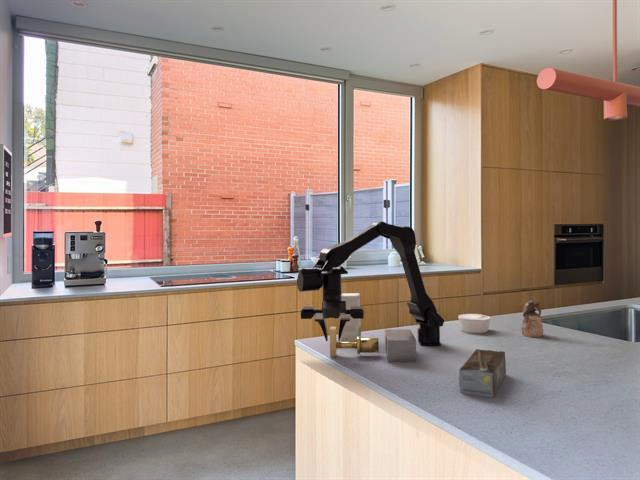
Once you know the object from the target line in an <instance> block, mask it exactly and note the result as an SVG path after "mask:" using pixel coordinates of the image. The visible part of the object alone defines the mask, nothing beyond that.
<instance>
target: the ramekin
mask: <svg viewBox="0 0 640 480" xmlns="http://www.w3.org/2000/svg"><path fill="white" fill-rule="evenodd" d="M457 318H458V323H459V329H460V330H461V331H462V332H464V333H469V334H485V333H487V332H488V331H489V329H490V328H489V327H490V324H491V323H490V321H491V320H492V318H491V317H490V316H489V315H485V314H481V313H463V314H459V315H458V317H457Z"/></svg>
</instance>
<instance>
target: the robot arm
mask: <svg viewBox="0 0 640 480" xmlns="http://www.w3.org/2000/svg"><path fill="white" fill-rule="evenodd" d="M379 237H382V238H385V239H389V241H390V243H391V244H392V247H393V249H394V250H395V251H396V253H397V254H398V255H399V257H400V260H401V264H402V268H403V271H404V275H405V278H406V280H407V285H408V287H409V288H408V289H409V292H410V295H411V298H410V301H408V302H407V303H406V305H407V307H408V310H409V314H410V315H411V316H412V317H413V318H414V320H415V323H416V324H418V328H417V329H416V330H417V332H416V333H417V342H418V343H419V345H420V346H441V345H442V343H441V337H440V336H441V335H440V334H441V330H440V329H441V327H443V326H444V323H445V319H444V318H443V317H442V316H441V315H440V314H439V313H438V311H437V307H436V305H435V303H434V301H433V300H432V298H431V297H430V296H429V295H428V294H427V293H428V292H427V291H426V287H425V284H424V279H423V276H422V273H421V271H420V270H421V269H420V266H419V263H418V258H417V256H416V248H417V247H416V246H417V238H416V233H415V230H414V229H413V228H412V227H410V226H399V225H396V224H395V225H393V224H390V223H387V222H385V221H374V222H373V223H371V224H370V225H369V226H367V227H366V228H363V229H362V230H360V231H359V232H357V233H355V235H352V236H351V237H349V238H347V239H346V240H344V241H342V242H339V243H336V244H332V245H330V246H326V247H324V248H323V249H322V250H321V251H320V252H319V258H318V259H317V261H316V262H315V264H314V265H313V266H312V268H305V267H304V268H302V267H301V268H299V270H298V273H297V274H298V275H297V277H296V286H297V289H298V291H299V293H300V292H301V293H302V292H316V291H319V290H320V289H322V302H321V309H317V308H316V306H303V307H302V308H301V310H300V319H301V320H312V319H313V318H314V322H317V323H318V325H319V326H320V328H321V330H322V334H323V336H324V339H325V341H326V342H328V340H329V336H328V329H327V328H328V327H327V319H335V320H336V319H339V329H338V334H337V335H338V336H337V340H338V341H337V342H341V335H342V331H343V328H344V326H345V324H346V322H347V321H350V316H351V317H352V318H353V319H360V320H361V319H364V318H365V316H364V314H365V312H364V308H363V306H361V305H360V306H351V307H350V309H346V301H342V294H343V293H342V292H343V291H342V275H348V274H349V272H348V271H347V270H346V268H344V266H342V265H343V264H344V263H345V262H346V261H347V260H348V259H349V258H350V257H351V255H352V254H353V253H355V252H356V251H358V250H359V249H361V248H362V247H364V246H366V245H368V244H369V243H371V242H372V241H373V240H375V239H377V238H379ZM340 316H341V318H340Z"/></svg>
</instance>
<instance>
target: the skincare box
mask: <svg viewBox="0 0 640 480" xmlns="http://www.w3.org/2000/svg"><path fill="white" fill-rule="evenodd" d="M360 295H361V294H360V293H358V292H355V293H351V292H350V293H342V301H346V309H350V307H351V306H361V300H360V299H361V296H360ZM340 318H341V316H340V317H339V319H340ZM361 322H362V321H361V319H353V318H352V317H351V316H350V321H347V322H346V324H345V326H344V328H343V331H342V335H341V338H340V342H357V336H360V338H362V330H361V329H362V328H361V325H362V323H361Z"/></svg>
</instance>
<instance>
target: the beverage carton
mask: <svg viewBox="0 0 640 480" xmlns="http://www.w3.org/2000/svg"><path fill="white" fill-rule="evenodd" d="M465 361H466V362H465V363H464V364H463V365H462V366H461V367H460V368H459V371H458V373H459V377H458V379H459V390H460V391H459V392H460V393H461V394H466V395H471V396H477V397H486V398H491V399H493V398H494V397H495V395H496V393H497V392H498V389H499V388H500V386H501V384H502V382H503V380H504V378H505V377H506V374H507V367H506V363H507V362H506V352H505V351H501V350H500V351H497V350H496V351H495V350H490V349H488V350H486V349H475V350H474V351H473V353H472V354H471V355H470V357H469V358H468V359H467V360H465Z"/></svg>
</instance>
